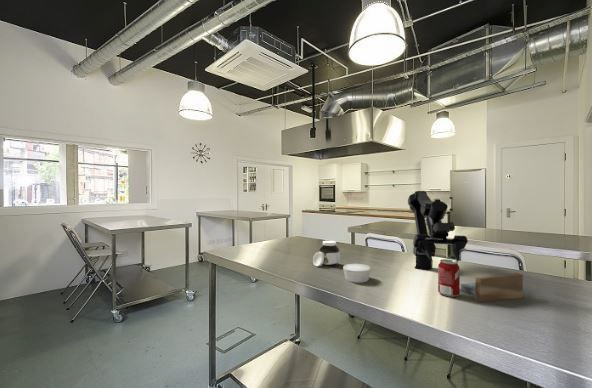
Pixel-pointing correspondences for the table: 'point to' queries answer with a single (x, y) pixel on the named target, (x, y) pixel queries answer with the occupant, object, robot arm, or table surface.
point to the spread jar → (327, 255)
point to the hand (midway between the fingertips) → (444, 260)
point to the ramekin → (357, 272)
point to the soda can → (449, 278)
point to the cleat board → (496, 287)
